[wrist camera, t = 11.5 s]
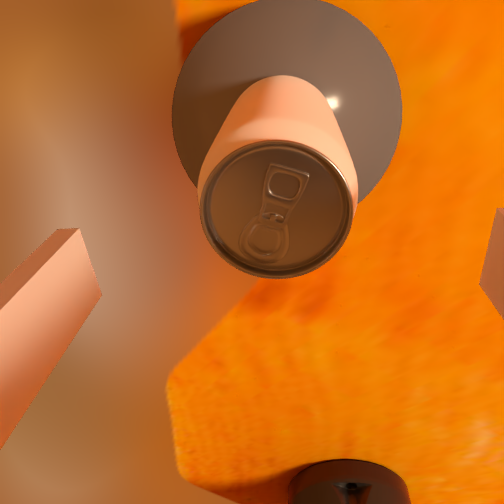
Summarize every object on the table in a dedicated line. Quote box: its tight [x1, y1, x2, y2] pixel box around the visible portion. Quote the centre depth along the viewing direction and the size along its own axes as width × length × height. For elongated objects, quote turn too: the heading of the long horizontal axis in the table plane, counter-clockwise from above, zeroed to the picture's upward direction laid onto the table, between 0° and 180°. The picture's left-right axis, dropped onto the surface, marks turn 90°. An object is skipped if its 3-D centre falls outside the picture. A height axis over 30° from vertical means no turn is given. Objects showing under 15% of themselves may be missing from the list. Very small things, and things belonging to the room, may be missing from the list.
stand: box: [172, 0, 402, 204], centre depth 27 cm, size 14×14×4 cm
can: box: [197, 75, 358, 279], centre depth 20 cm, size 6×6×12 cm
